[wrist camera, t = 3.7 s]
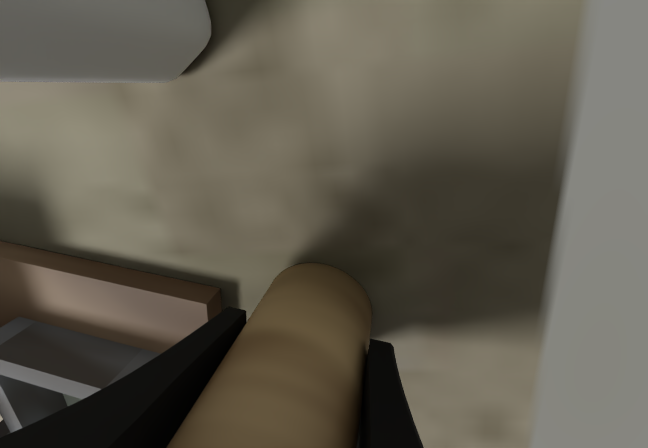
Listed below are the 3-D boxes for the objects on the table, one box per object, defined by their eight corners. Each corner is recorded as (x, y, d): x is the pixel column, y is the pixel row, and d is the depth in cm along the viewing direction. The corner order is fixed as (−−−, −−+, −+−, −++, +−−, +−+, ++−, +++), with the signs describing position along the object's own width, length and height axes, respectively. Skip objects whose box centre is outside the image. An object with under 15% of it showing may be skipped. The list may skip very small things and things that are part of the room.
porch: (232, 464, 17) (149, 652, 12) (0, 391, 20) (-162, 517, 14) (220, 288, 12) (61, 468, 7) (-88, 221, 15) (-396, 309, 9)
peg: (364, 359, 12) (327, 644, 6) (267, 337, 13) (144, 573, 7) (380, 275, 11) (352, 549, 4) (268, 253, 11) (105, 465, 5)
